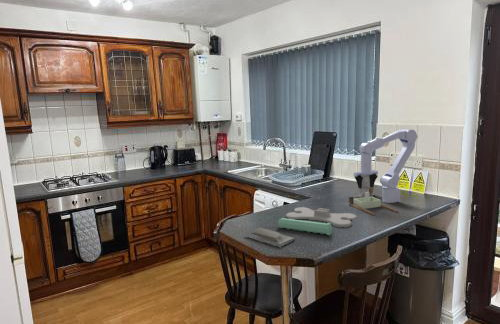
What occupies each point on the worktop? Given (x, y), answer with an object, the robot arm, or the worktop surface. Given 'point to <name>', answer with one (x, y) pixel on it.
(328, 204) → the worktop surface
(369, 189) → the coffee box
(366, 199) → the green tray with post
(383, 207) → the bay
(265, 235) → the grey stepped block
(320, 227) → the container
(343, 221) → the holder
